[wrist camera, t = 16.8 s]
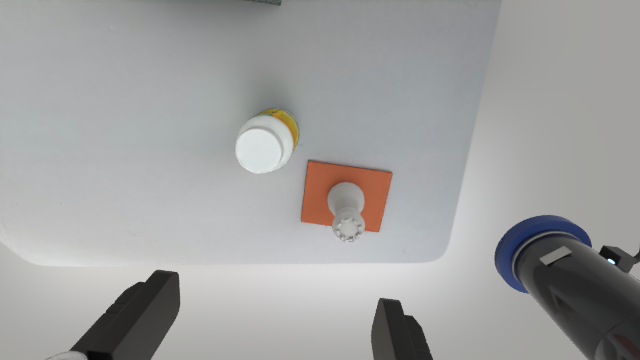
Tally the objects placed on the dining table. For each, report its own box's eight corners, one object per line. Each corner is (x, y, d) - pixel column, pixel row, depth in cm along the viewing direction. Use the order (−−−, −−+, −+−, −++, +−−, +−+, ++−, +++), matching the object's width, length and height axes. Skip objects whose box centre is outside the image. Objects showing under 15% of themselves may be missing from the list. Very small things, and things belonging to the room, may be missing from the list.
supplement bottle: (271, 161, 35) (250, 192, 26) (244, 123, 34) (213, 141, 25) (309, 138, 34) (301, 162, 25) (283, 97, 33) (264, 107, 24)
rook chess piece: (371, 197, 36) (382, 230, 28) (345, 221, 37) (349, 258, 30) (345, 173, 35) (348, 201, 28) (319, 198, 36) (316, 231, 29)
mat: (391, 172, 35) (392, 173, 35) (378, 230, 38) (379, 232, 38) (308, 160, 35) (308, 161, 35) (301, 219, 38) (300, 221, 38)
